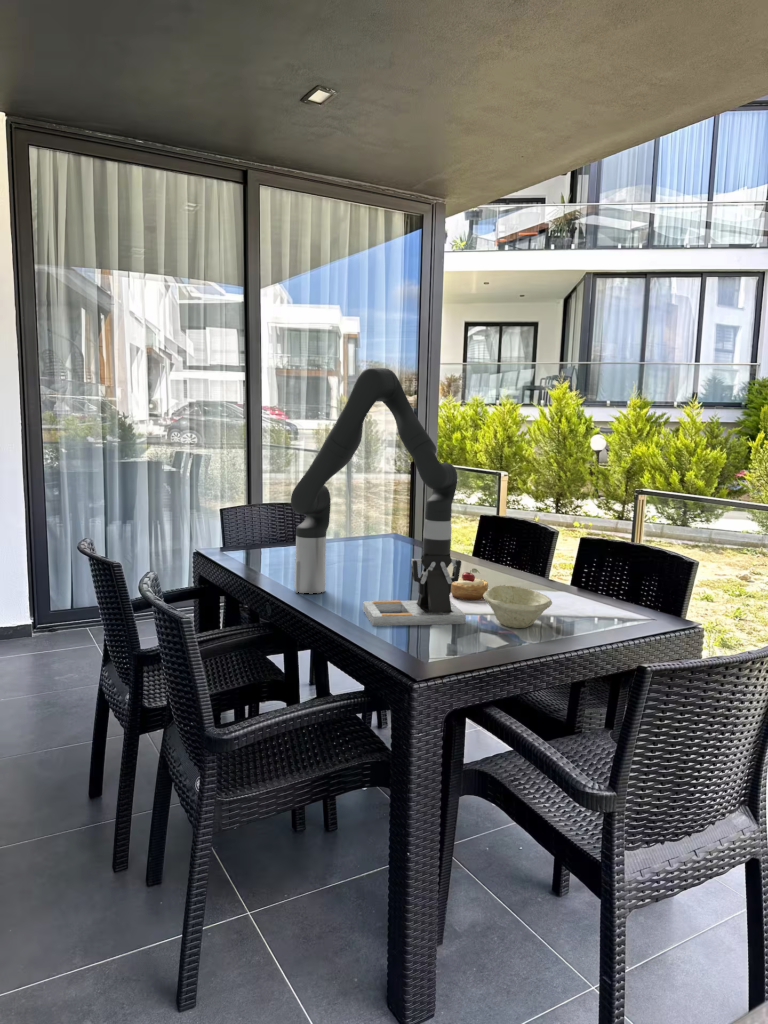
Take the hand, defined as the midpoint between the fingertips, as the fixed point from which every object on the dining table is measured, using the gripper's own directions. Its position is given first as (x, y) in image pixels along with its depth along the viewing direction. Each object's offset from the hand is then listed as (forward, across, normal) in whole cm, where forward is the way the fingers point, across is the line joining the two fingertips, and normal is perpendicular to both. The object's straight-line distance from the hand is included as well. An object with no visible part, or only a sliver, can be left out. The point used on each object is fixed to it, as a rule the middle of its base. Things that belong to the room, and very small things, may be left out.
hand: (434, 596), depth 201 cm
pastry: (+6, +17, +22) cm, 28 cm away
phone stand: (+4, 0, 0) cm, 4 cm away
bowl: (+6, +20, -10) cm, 23 cm away
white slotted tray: (+6, -6, 0) cm, 8 cm away
